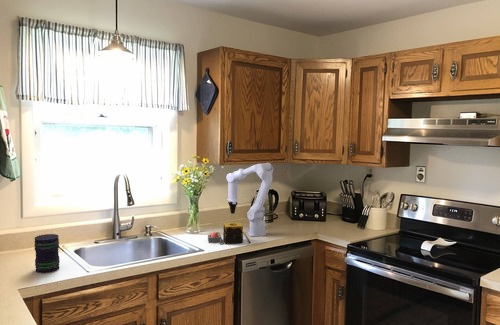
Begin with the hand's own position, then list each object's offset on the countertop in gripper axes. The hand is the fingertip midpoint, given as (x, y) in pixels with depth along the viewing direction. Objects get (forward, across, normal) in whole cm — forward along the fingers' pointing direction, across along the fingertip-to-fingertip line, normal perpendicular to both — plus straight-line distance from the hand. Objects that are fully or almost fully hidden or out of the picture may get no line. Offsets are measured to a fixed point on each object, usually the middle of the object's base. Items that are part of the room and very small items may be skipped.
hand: (232, 213), depth 262 cm
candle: (+11, +27, -4) cm, 30 cm away
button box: (+10, +25, -14) cm, 30 cm away
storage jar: (+11, +61, -92) cm, 111 cm away
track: (+10, +20, -2) cm, 23 cm away
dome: (+10, +25, -14) cm, 30 cm away
